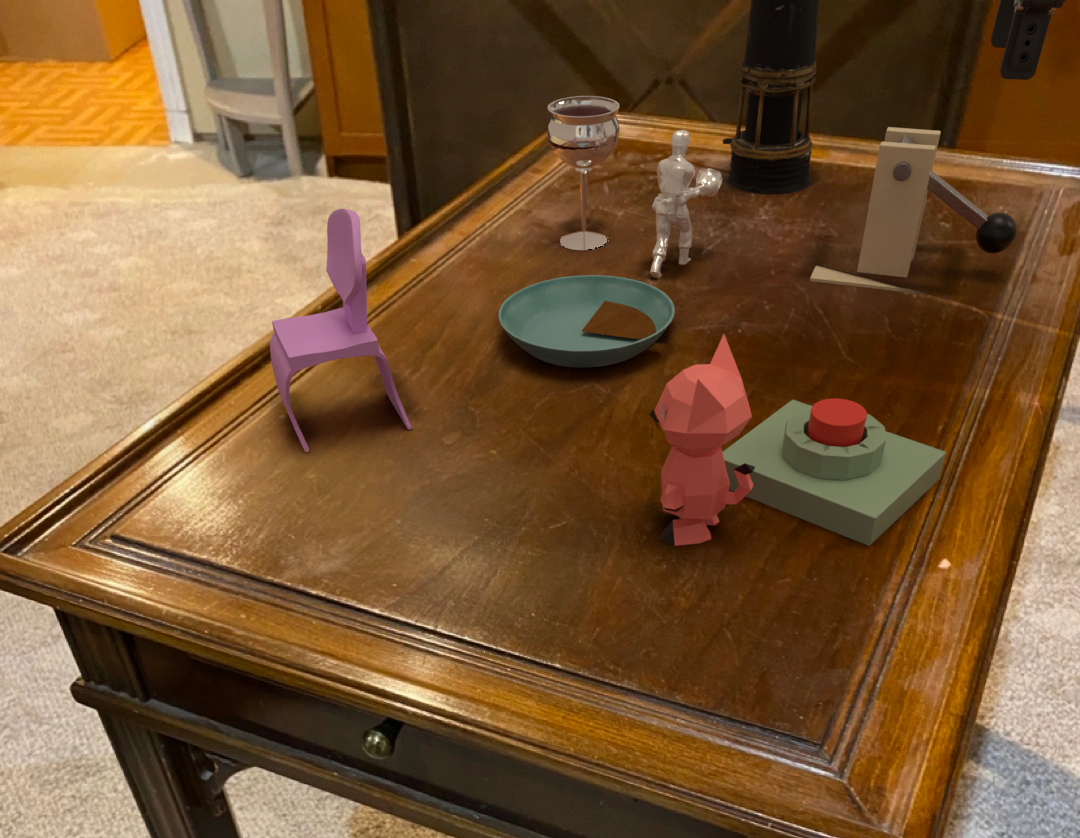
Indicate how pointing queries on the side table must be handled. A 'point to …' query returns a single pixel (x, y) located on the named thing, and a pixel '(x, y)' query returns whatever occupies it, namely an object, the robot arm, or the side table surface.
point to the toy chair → (332, 320)
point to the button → (837, 422)
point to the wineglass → (583, 149)
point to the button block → (834, 473)
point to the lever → (974, 214)
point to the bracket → (892, 211)
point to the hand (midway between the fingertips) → (1010, 61)
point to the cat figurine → (701, 445)
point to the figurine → (678, 199)
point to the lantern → (775, 98)
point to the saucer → (580, 319)
